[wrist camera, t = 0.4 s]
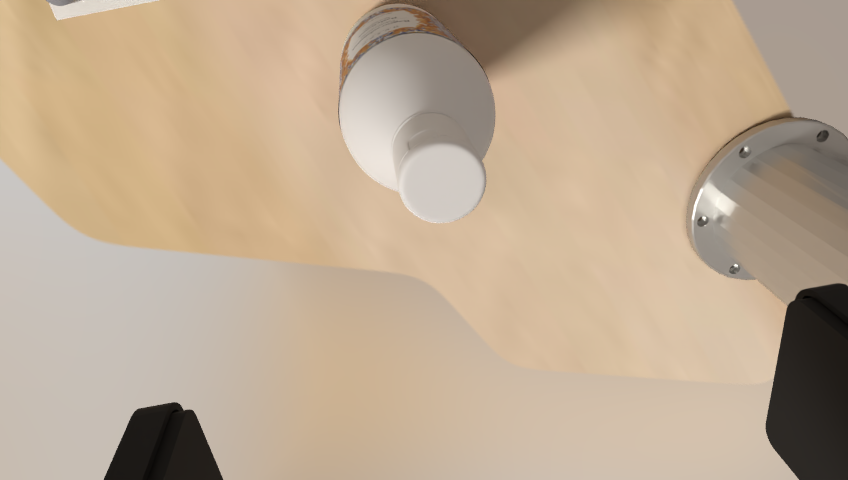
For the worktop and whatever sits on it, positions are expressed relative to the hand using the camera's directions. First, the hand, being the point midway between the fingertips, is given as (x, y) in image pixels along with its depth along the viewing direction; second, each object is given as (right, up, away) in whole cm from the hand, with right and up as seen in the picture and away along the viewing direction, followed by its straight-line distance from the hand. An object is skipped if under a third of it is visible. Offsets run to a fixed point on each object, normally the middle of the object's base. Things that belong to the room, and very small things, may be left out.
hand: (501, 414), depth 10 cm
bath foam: (-3, +14, +28) cm, 31 cm away
